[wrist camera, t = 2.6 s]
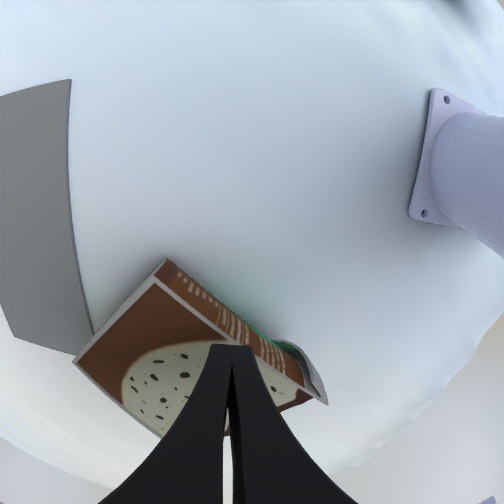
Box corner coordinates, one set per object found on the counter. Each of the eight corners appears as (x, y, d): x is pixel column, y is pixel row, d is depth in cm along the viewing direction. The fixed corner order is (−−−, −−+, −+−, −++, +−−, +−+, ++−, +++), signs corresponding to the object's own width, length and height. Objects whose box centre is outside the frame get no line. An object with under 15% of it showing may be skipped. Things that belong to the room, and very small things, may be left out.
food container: (107, 318, 20) (200, 397, 22) (65, 369, 14) (182, 456, 16) (216, 209, 16) (326, 327, 18) (177, 251, 10) (337, 400, 12)
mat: (71, 79, 11) (68, 79, 11) (101, 358, 20) (100, 361, 19) (-28, 107, 10) (-31, 107, 10) (15, 334, 19) (14, 336, 19)
